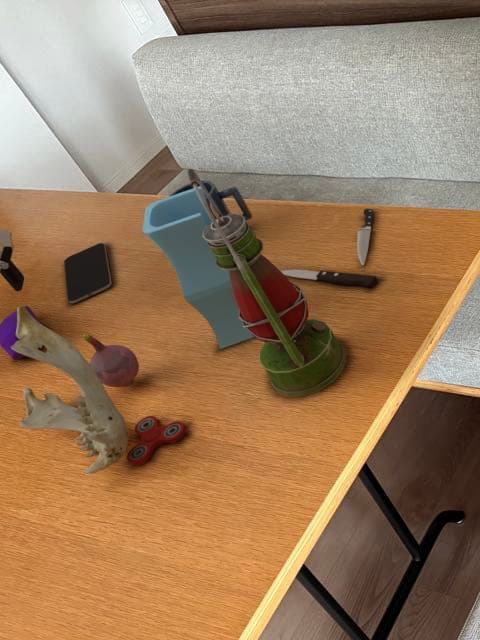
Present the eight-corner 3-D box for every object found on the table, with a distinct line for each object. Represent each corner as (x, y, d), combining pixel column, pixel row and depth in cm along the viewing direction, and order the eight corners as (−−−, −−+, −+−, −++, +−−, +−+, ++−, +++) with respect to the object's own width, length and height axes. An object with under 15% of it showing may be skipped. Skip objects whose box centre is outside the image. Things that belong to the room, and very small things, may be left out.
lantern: (358, 380, 104) (249, 181, 82) (282, 417, 102) (150, 224, 81) (332, 322, 113) (228, 130, 92) (262, 355, 112) (139, 168, 90)
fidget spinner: (122, 463, 101) (128, 469, 102) (176, 449, 101) (182, 455, 101) (135, 417, 106) (141, 423, 107) (187, 403, 106) (192, 410, 107)
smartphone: (67, 302, 131) (63, 258, 141) (70, 306, 131) (66, 261, 141) (110, 283, 132) (103, 241, 142) (113, 286, 132) (105, 244, 142)
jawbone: (146, 392, 96) (50, 405, 89) (144, 508, 104) (57, 528, 98) (83, 298, 110) (-3, 303, 103) (87, 407, 119) (7, 418, 112)
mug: (194, 261, 132) (164, 216, 126) (194, 236, 138) (165, 191, 131) (259, 238, 133) (233, 192, 126) (257, 213, 138) (231, 168, 132)
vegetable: (128, 366, 116) (85, 316, 109) (159, 371, 114) (118, 319, 107) (101, 397, 113) (55, 347, 106) (132, 403, 110) (88, 351, 103)
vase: (272, 330, 115) (201, 215, 101) (220, 349, 115) (141, 236, 100) (270, 298, 120) (202, 185, 106) (220, 316, 120) (145, 204, 106)
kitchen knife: (372, 289, 117) (379, 280, 118) (370, 284, 116) (376, 275, 117) (276, 277, 124) (283, 269, 125) (273, 273, 123) (281, 264, 124)
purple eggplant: (31, 289, 130) (20, 333, 119) (50, 313, 133) (42, 358, 122) (2, 301, 129) (-11, 347, 118) (22, 325, 132) (11, 372, 121)
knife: (352, 266, 120) (366, 267, 121) (352, 262, 120) (366, 264, 120) (361, 211, 130) (373, 212, 131) (361, 207, 130) (373, 208, 130)
